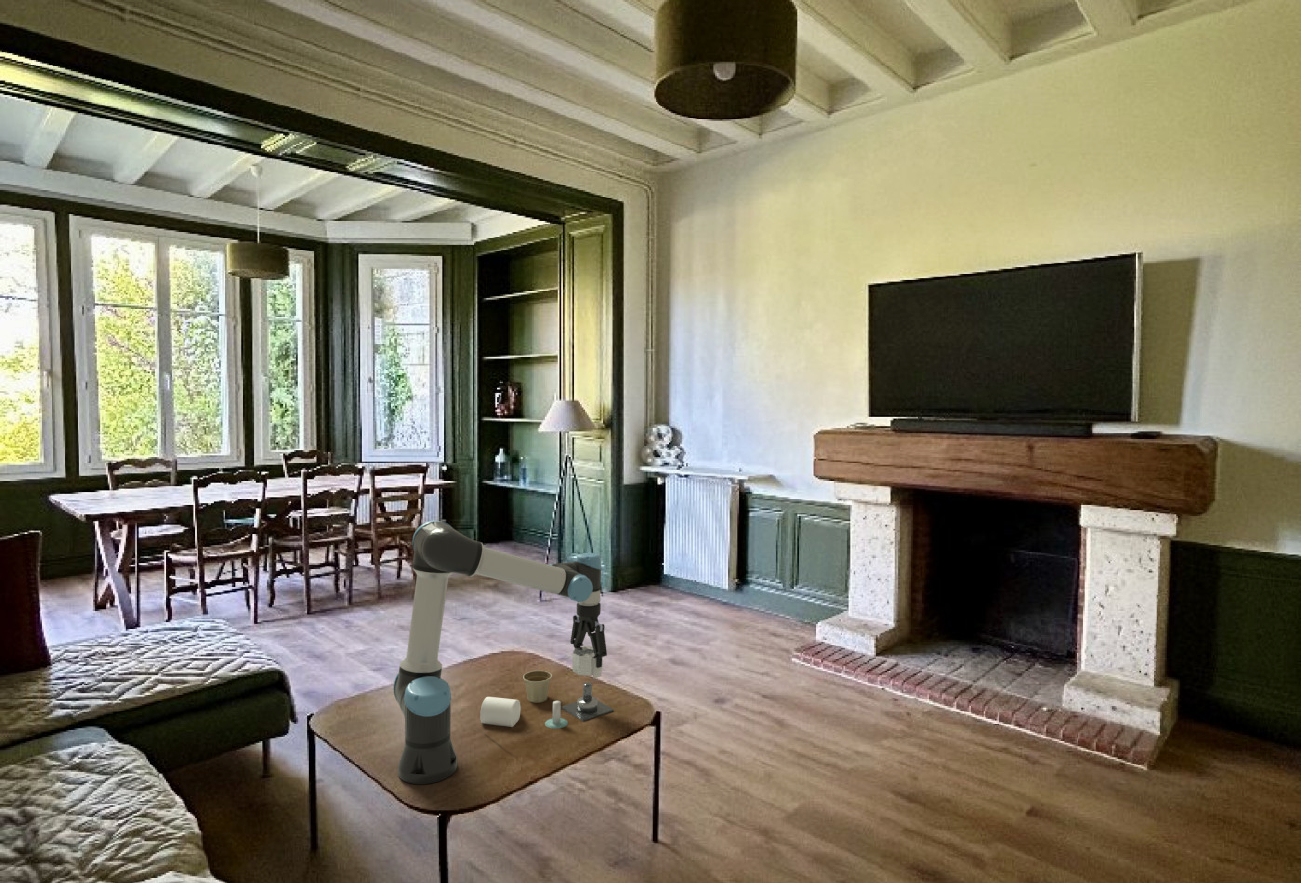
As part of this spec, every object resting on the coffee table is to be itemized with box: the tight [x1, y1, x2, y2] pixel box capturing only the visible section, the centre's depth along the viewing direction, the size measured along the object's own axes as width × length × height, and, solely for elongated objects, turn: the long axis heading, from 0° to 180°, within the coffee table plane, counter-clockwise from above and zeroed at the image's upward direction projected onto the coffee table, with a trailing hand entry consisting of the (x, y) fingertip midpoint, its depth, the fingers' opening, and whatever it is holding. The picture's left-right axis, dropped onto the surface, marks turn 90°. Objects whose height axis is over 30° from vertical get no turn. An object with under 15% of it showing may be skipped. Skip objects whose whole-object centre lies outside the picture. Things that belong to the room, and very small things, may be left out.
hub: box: [561, 681, 615, 722], centre depth 231 cm, size 12×12×9 cm
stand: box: [544, 700, 569, 730], centre depth 221 cm, size 7×7×8 cm
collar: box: [572, 645, 604, 676], centre depth 230 cm, size 9×9×6 cm
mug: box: [479, 696, 521, 728], centre depth 223 cm, size 12×10×8 cm
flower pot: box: [522, 670, 553, 703], centre depth 238 cm, size 9×9×9 cm
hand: (587, 672), depth 230 cm, fingers closed on collar, 9 cm apart
